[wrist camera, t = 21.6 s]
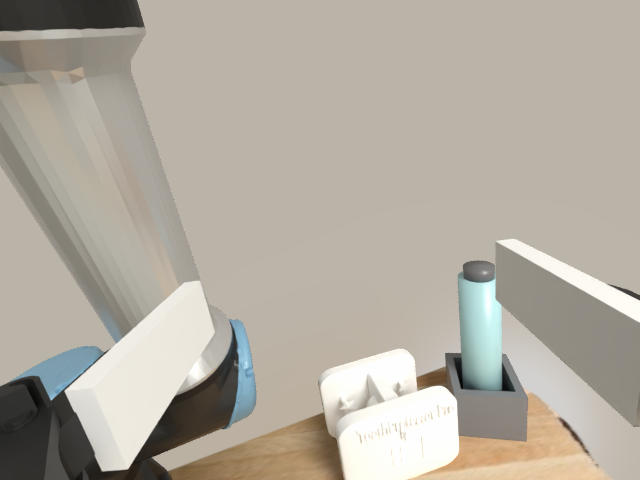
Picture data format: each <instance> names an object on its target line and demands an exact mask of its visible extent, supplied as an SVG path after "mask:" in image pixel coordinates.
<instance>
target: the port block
mask: <svg viewBox="0 0 640 480" xmlns="http://www.w3.org/2000/svg"><path fill="white" fill-rule="evenodd" d="M445 358H446V377H447V389H448V390H449V392H450V393H451V394H452V395H453V396H454V397H455V398H456V400H457V416H458V436H470V437H481V438H493V439H505V440H517V441H526V440H527V411H528V397H527V395H526V393H525V391H524V389H523V387H522V385H521V383H520V381H519V380H518V377H517V375H516V373H515V371H514V369H513V367H512V365H511V363H510V361H509V359H508V357H507V355H506V354H502V391H487V390H466V389H463V378H462V357H461V353H445Z"/></svg>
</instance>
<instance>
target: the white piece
mask: <svg viewBox="0 0 640 480" xmlns="http://www.w3.org/2000/svg"><path fill="white" fill-rule="evenodd" d="M318 384H319V389H320V394H321V399H322V405H323V410H324V415H325V421H326V425H327V429H328V432H329V434H330V435H331V436H332V437H334V438H336V439H337V445H338V450H339V455H340V461H341V466H342V472H343V477H344V480H408V479H411V478H413V477H416V476H419V475H421V474H424V473H427V472H429V471H432V470H435V469H437V468H440V467H443V466H445V465H447V464H449V463H450V462H452V461H453V460H454V459H455V458H456V456H457V455H458V452H459V438H458V416H457V400H456V398H455V397H454V396H453V395H452V394H451V393H450V392H449V390H448V389H447V388H445V387H443V386H433V387H429V388H426V389H423V390H420V391H417V381H416V370H415V360H414V358H413V356H412V355H411V354H410V353H409V352H408V351H406V350H405V349H395V350H391V351H388V352H385V353H381V354H378V355H374V356H371V357H367V358H364V359H361V360H357V361H354V362H350V363H347V364H343V365H340V366H337V367H334V368H331V369H328V370H326V371H325V372H324V373H322V375H321V376H320V378H319V380H318Z"/></svg>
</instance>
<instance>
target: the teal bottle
mask: <svg viewBox="0 0 640 480" xmlns="http://www.w3.org/2000/svg"><path fill="white" fill-rule="evenodd" d="M495 282H496V272H495V265H494V264H492V263H490V262H487V261H470V262H467V263H465V264H464V265H463V272H461V273H459V274H458V294H459V313H460V314H459V315H460V336H461V357H462V378H463V389H466V390H487V391H502V313H501V312H502V310H501V309H502V305H501V304H500V303H499V302H498V301H497V300H496V299H495Z"/></svg>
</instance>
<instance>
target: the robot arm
mask: <svg viewBox="0 0 640 480" xmlns="http://www.w3.org/2000/svg"><path fill="white" fill-rule="evenodd" d="M145 34H146V30H145V26H144V23H143V20H142V16H141V12H140V9H139V5H138V2H137V0H0V166H1V168H2V169H3V171H4V172H5V174H6V175H7V176H8V178H9V180H10V181H11V182H12V184H13V186H14V187H15V189H16V191H17V192H18V193H19V195H20V197H21V198H22V200H23V201H24V203H25V204H26V206H27V207H28V209H29V210H30V212H31V214H32V215H33V217H34V218H35V220H36V221H37V223H38V224H39V226H40V227H41V229H42V230H43V232H44V234H45V235H46V237H47V238H48V240H49V241H50V243H51V244H52V246H53V247H54V249H55V250H56V252H57V253H58V255H59V257H60V258H61V260H62V261H63V263H64V264H65V266H66V267H67V269H68V270H69V272H70V273H71V275H72V276H73V278H74V279H75V281H76V282H77V284H78V286H79V287H80V289H81V290H82V292H83V293H84V295H85V296H86V298H87V299H88V301H89V302H90V304H91V305H92V307H93V308H94V310H95V312H96V313H97V315H98V316H99V318H100V319H101V321H102V322H103V324H104V326H105V327H106V329H107V330H108V332H109V333H110V335H111V336H112V338H113V339H114V341H115V342H116V345H115V346H114V347H112V348H111V349H109V350H108V351H106V352H105V353H104V352H103V351H101V350H100V349H99V348H97V347H95V346H90V347H89V346H83V347H78V348H75V349H71V350H69V351H66V352H63V353H61V354H58V355H56V356H54V357H52V358H50V359H48V360H46V361H43V362H42V363H40V364H38V365H36V366H34V367H32V368H31V369H29V370H27V371H26V372H24V373H22V374H21V375H19V376H18V377H16V378H15V379H13V380H11V381H10V382H9V383H7V384H5V385H2V386H0V480H172V479H171V476H170V474H169V473H168V472H167V470H166V469H165V468H164V467H162V466H161V465H160V464H159V463H157V462H156V461H155V460H154V459H152V458H151V457H153V456H156V455H159V454H161V453H163V452H165V451H168V450H171V449H173V448H176V447H178V446H180V445H183V444H185V443H187V442H190V441H192V440H195V439H197V438H200V437H202V436H205V435H207V434H209V433H212V432H214V431H217V430H219V429H227V428H229V427H230V426H231V425H232V424H233V423H235V422H237V421H240V420H242V419H244V418H246V417H247V416H249V415H250V414H251V413H252V412H253V410H254V407H255V405H256V385H255V376H254V372H253V365H252V356H251V351H250V346H249V342H248V338H247V334H246V331H245V328H244V325H243V323H242V322H241V321H240V320H228V318H227V317H226V315H225V314H224V313H223V312H222V311H221V310H219V309H218V308H216V307H214V306H211V305H209V304H208V301H207V298H206V295H205V292H204V289H203V286H202V283H201V280H200V277H199V274H198V271H197V268H196V265H195V262H194V259H193V256H192V253H191V250H190V247H189V244H188V241H187V238H186V235H185V232H184V229H183V226H182V223H181V220H180V217H179V214H178V211H177V208H176V205H175V202H174V199H173V196H172V193H171V190H170V187H169V184H168V181H167V178H166V175H165V172H164V169H163V166H162V163H161V160H160V157H159V154H158V151H157V148H156V145H155V142H154V139H153V136H152V133H151V130H150V127H149V124H148V121H147V118H146V115H145V112H144V109H143V106H142V103H141V100H140V97H139V94H138V91H137V88H136V85H135V82H134V79H133V76H132V73H131V60H132V58H133V56H134V54H135V52H136V51H137V49H138V47H139V45H140V43H141V41H142V39H143V38H144V36H145ZM495 299H496V300H497V301H498V302H499V303H500V304H501V305H502V306H503V307H504V308H505V309H507V310H508V311H509V312H510V313H511V314H512V315H513V316H514V317H515V318H516V319H517V320H519V321H520V322H521V323H522V324H523V325H524V326H525V327H526V328H527V329H528V330H529V331H530V332H531V333H533V334H534V335H535V336H536V337H537V338H538V339H539V340H540V341H541V342H543V343H544V344H545V345H546V346H547V347H548V348H549V349H550V350H551V351H552V352H553V353H554V354H555V355H556V356H558V357H559V358H560V359H561V360H562V361H563V362H564V363H565V364H566V365H567V366H568V367H570V368H571V369H572V370H573V371H574V372H575V373H576V374H577V375H578V376H579V377H580V378H581V379H582V380H584V381H585V382H586V383H587V384H588V385H589V386H590V387H591V388H592V389H593V390H594V391H596V392H597V393H598V394H599V395H600V396H601V397H602V398H603V399H604V400H605V401H606V402H608V403H609V404H610V405H611V406H612V407H613V408H614V409H615V410H616V411H617V412H618V413H619V414H621V415H622V416H623V417H624V418H625V419H626V420H627V421H628V422H629V423H630V424H631V425H632V426H633V427H639V426H640V295H638V294H636V293H634V292H632V291H629V290H627V289H623V288H619V287H616V286H613V285H609V284H605V283H603V282H601V281H599V280H597V279H595V278H593V277H591V276H589V275H587V274H585V273H583V272H581V271H579V270H577V269H575V268H572V267H571V266H569V265H567V264H564V263H563V262H560V261H558V260H556V259H554V258H552V257H550V256H548V255H546V254H544V253H542V252H540V251H538V250H536V249H534V248H532V247H530V246H528V245H526V244H524V243H522V242H520V241H518V240H516V239H508V240H500V241H496V282H495Z"/></svg>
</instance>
